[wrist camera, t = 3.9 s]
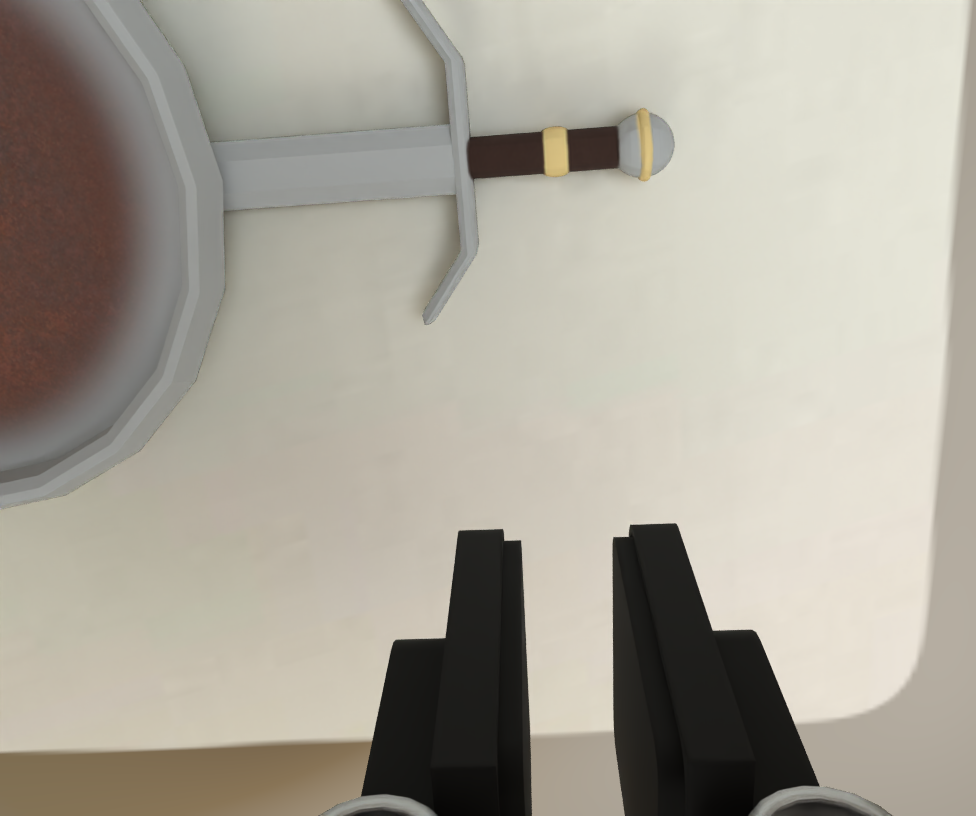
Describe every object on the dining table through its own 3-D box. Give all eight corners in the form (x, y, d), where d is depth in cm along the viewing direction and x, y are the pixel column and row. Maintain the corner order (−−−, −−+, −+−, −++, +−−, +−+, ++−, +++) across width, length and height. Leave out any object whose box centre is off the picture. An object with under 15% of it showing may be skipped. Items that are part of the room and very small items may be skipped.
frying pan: (684, 483, 25) (-347, 549, 25) (665, 439, 27) (-266, 501, 28) (686, -298, 18) (-677, -172, 19) (661, -254, 21) (-532, -145, 22)
